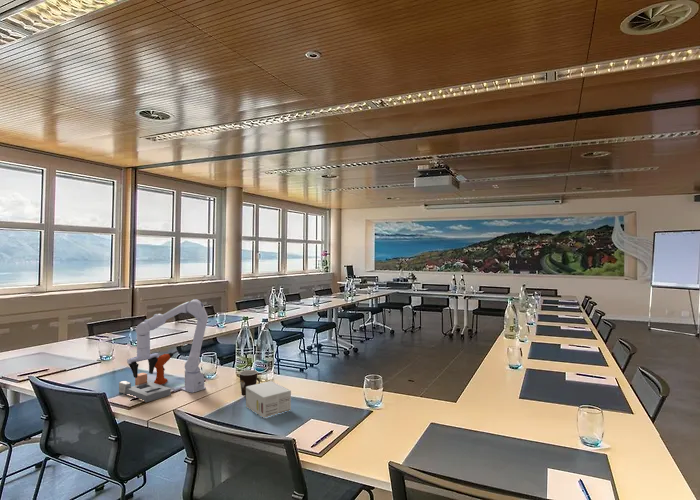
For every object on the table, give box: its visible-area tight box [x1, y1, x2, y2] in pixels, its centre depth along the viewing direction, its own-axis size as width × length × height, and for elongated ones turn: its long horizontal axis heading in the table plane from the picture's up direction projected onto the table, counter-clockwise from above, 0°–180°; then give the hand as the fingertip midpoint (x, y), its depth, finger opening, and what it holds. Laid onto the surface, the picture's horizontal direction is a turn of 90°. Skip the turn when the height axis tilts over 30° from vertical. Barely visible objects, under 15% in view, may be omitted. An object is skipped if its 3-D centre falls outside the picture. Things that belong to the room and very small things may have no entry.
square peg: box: [134, 372, 148, 386], centre depth 205 cm, size 4×4×7 cm
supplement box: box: [245, 380, 292, 418], centre depth 178 cm, size 17×13×9 cm
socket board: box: [126, 381, 172, 403], centre depth 196 cm, size 18×12×3 cm, turn 55°
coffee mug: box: [238, 369, 261, 396], centre depth 197 cm, size 12×9×10 cm
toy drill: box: [153, 350, 179, 386], centre depth 218 cm, size 5×19×15 cm, turn 166°
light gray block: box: [118, 380, 132, 395], centre depth 199 cm, size 6×3×5 cm, turn 55°
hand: (143, 375), depth 199 cm, fingers open, 7 cm apart
